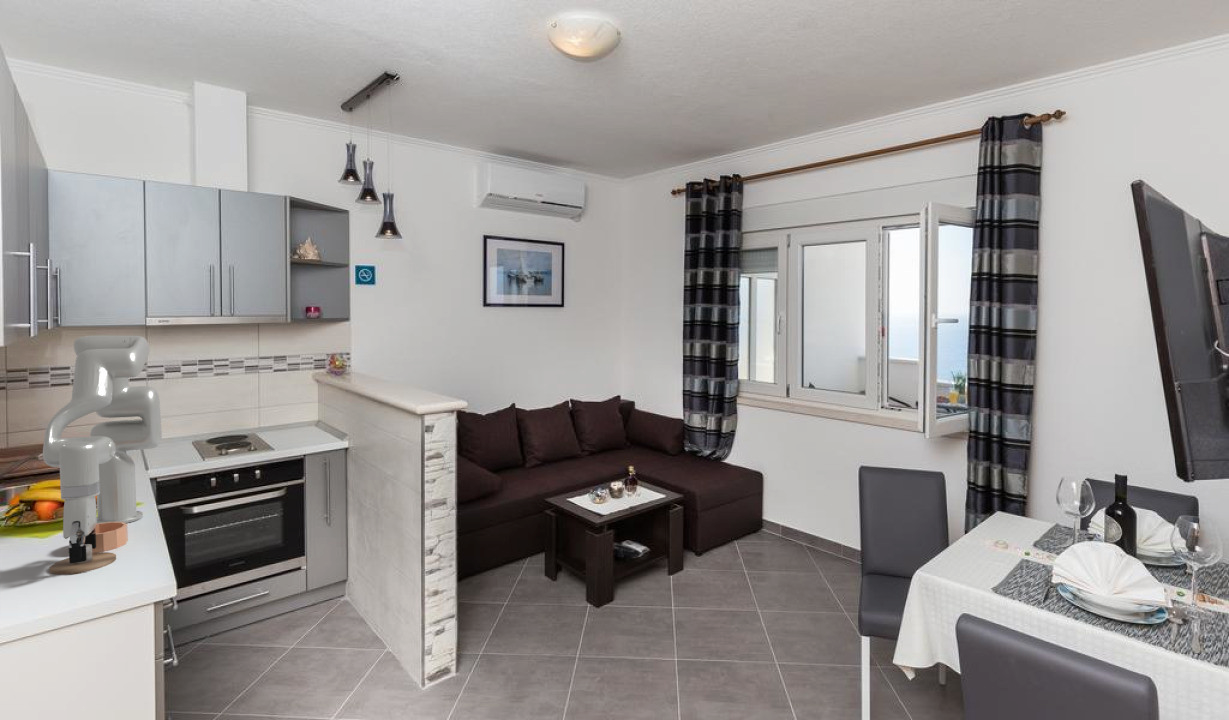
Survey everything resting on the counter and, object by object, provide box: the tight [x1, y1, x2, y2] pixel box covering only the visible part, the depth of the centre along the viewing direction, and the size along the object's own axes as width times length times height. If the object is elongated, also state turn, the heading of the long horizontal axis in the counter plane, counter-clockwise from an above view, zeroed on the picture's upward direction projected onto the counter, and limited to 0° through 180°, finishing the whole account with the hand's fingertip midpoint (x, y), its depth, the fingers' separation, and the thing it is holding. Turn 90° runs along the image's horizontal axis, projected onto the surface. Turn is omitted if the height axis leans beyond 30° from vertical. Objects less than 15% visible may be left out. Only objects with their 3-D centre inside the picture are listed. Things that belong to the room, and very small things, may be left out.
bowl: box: [79, 522, 129, 553], centre depth 169 cm, size 11×11×5 cm
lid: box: [48, 544, 117, 576], centre depth 156 cm, size 13×13×5 cm
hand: (83, 555), depth 156 cm, fingers open, 9 cm apart
